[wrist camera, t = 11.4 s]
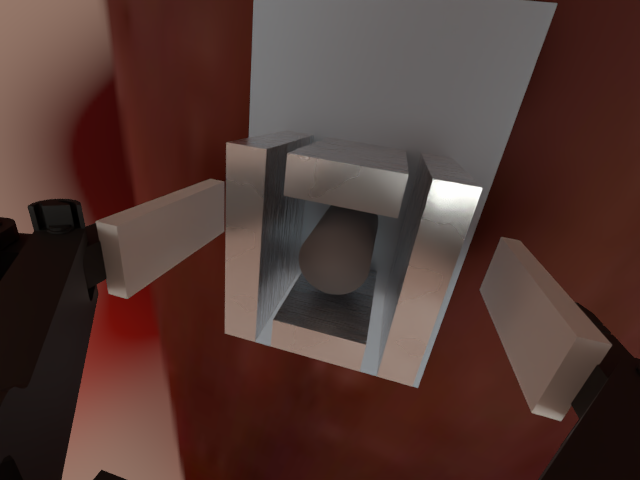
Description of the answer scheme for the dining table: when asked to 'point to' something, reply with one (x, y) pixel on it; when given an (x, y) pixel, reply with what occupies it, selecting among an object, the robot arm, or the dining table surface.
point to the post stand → (390, 111)
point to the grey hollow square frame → (404, 280)
